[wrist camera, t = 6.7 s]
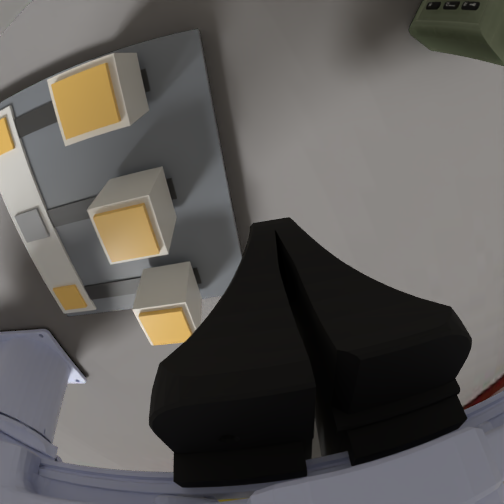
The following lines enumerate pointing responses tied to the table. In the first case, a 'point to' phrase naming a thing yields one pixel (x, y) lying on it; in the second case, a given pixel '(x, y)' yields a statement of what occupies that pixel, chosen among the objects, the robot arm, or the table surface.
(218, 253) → the switch unit
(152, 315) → the switch far
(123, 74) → the switch near
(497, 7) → the handheld radio
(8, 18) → the power supply unit
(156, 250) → the switch mid
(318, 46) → the table surface
